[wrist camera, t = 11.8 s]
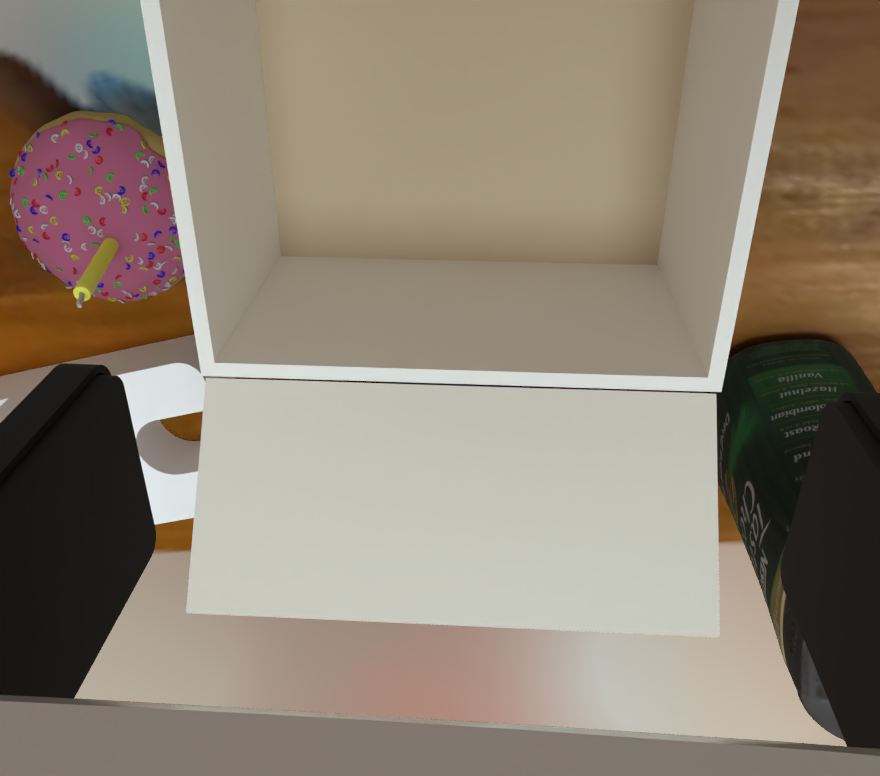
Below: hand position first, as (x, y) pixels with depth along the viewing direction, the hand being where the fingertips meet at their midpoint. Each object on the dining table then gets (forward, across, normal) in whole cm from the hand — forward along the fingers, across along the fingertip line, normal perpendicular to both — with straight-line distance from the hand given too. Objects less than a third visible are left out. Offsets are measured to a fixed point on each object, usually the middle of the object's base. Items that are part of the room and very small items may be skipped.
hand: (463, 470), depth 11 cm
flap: (+16, +1, +13) cm, 20 cm away
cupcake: (+31, +17, +5) cm, 35 cm away
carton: (+31, +1, 0) cm, 31 cm away
